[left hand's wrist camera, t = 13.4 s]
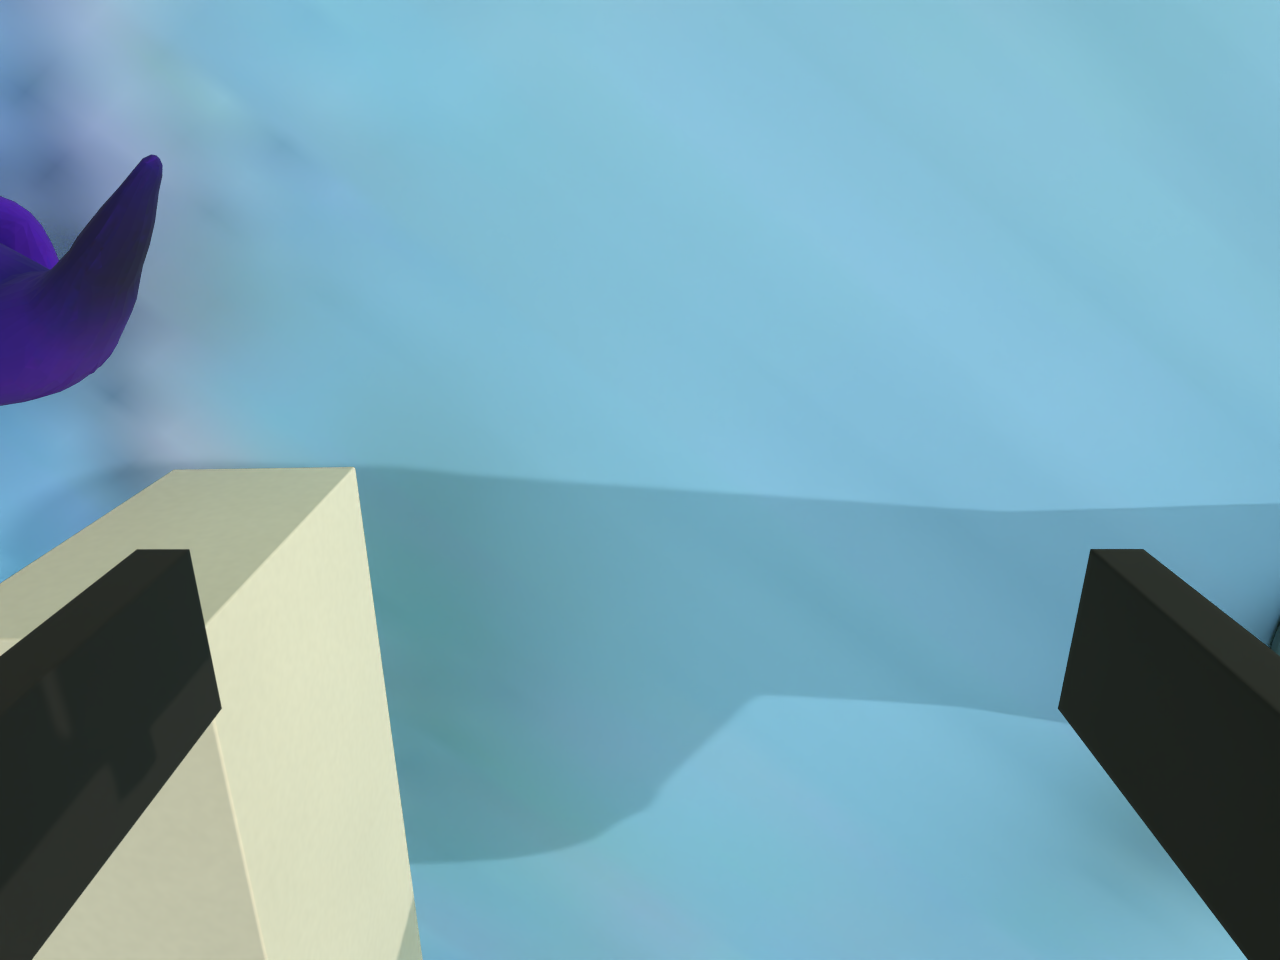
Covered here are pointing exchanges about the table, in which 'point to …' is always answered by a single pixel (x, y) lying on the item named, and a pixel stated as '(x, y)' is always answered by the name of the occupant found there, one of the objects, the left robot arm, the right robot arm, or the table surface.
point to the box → (252, 733)
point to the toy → (71, 288)
